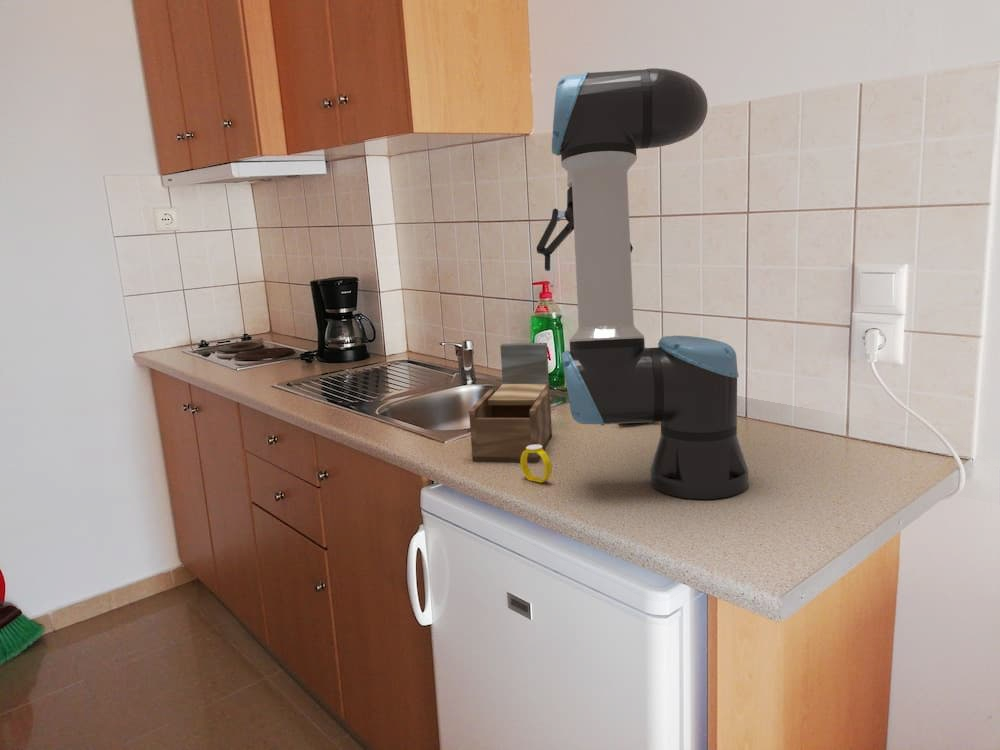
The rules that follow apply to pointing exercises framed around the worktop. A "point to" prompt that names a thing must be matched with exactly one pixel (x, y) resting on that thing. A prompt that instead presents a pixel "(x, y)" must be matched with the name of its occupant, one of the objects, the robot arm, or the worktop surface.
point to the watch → (544, 457)
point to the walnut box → (509, 429)
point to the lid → (522, 374)
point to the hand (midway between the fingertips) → (583, 286)
